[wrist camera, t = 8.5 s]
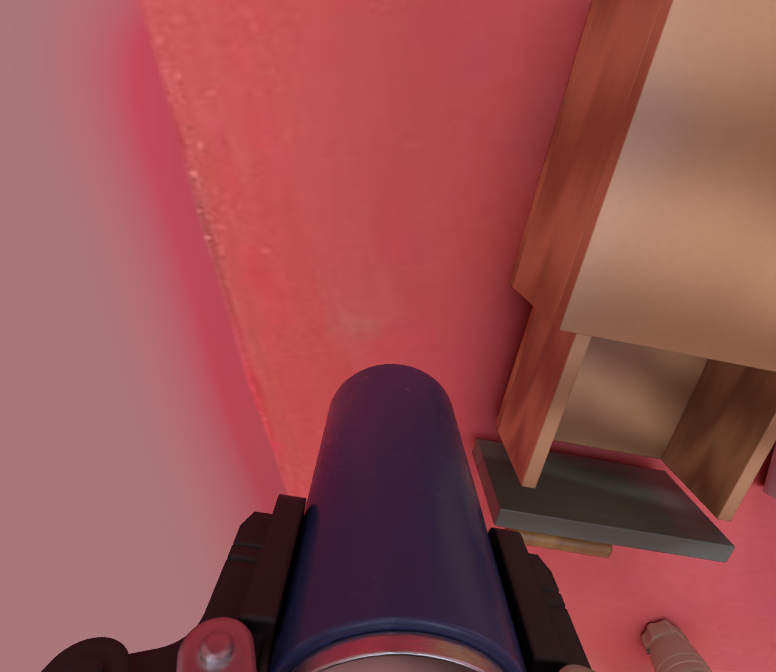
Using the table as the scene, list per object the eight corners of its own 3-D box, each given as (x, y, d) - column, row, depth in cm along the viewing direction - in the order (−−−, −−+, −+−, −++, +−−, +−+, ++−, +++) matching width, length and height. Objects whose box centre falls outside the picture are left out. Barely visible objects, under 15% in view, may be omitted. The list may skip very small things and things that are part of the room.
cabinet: (730, 327, 29) (865, 389, 21) (508, 283, 28) (559, 330, 20) (863, 49, 24) (1113, -15, 16) (597, -18, 23) (715, -124, 15)
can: (320, 462, 19) (240, 814, 9) (338, 352, 17) (267, 624, 7) (437, 481, 19) (497, 842, 9) (467, 375, 18) (582, 666, 7)
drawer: (632, 538, 34) (690, 625, 27) (454, 509, 33) (470, 593, 26) (753, 286, 27) (867, 321, 21) (536, 241, 27) (585, 264, 20)
